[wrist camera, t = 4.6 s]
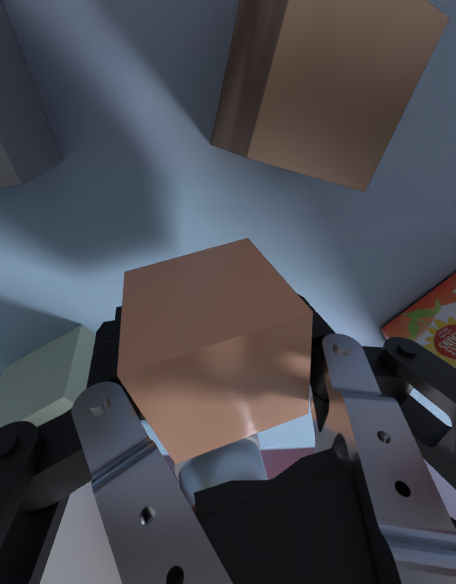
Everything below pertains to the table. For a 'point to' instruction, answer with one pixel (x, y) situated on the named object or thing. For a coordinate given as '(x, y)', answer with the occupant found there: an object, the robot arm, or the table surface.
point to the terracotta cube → (214, 348)
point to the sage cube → (47, 379)
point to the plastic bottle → (221, 467)
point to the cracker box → (430, 322)
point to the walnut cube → (323, 82)
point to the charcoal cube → (21, 116)
